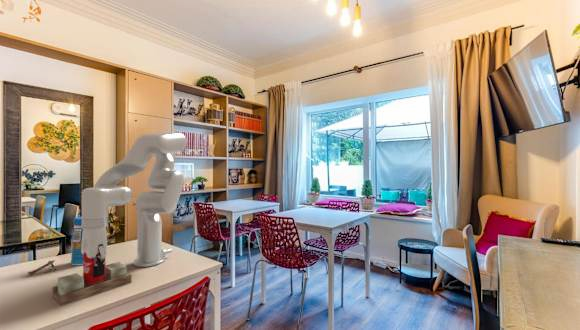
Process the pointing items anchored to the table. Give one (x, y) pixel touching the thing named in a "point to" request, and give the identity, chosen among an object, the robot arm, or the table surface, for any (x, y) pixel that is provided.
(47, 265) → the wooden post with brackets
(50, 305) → the table surface
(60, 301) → the rail
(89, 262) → the beverage can
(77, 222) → the beverage bottle
